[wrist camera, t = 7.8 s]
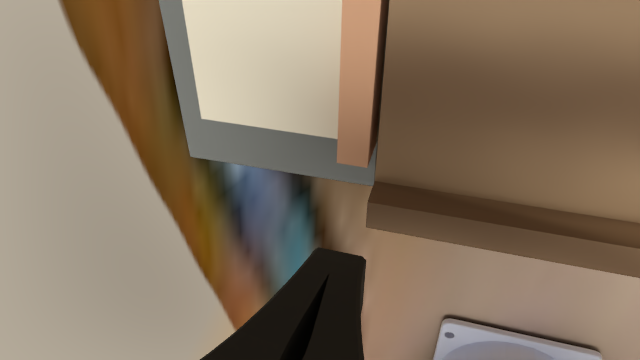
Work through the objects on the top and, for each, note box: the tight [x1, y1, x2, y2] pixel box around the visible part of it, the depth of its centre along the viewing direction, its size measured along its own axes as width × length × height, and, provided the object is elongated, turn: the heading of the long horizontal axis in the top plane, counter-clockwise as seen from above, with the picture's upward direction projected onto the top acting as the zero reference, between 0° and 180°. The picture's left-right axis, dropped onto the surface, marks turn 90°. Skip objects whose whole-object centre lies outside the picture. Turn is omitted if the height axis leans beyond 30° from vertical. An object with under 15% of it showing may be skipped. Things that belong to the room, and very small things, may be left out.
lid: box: [182, 0, 390, 168], centre depth 17 cm, size 7×8×3 cm
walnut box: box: [366, 0, 640, 278], centre depth 14 cm, size 10×10×4 cm
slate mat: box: [159, 0, 378, 186], centre depth 18 cm, size 12×10×1 cm
